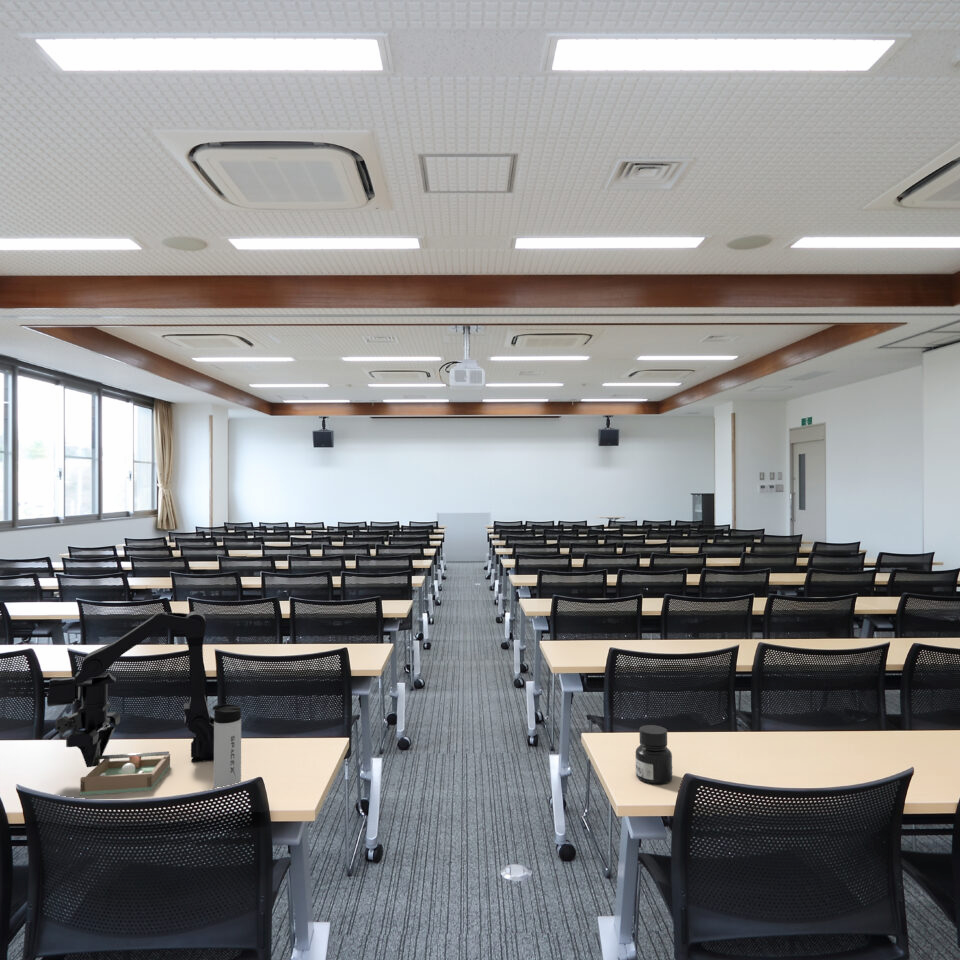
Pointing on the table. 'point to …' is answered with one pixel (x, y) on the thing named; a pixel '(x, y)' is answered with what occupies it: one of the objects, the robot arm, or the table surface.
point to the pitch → (124, 776)
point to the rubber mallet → (133, 758)
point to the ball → (128, 768)
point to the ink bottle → (653, 756)
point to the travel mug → (227, 745)
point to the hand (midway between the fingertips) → (94, 762)
